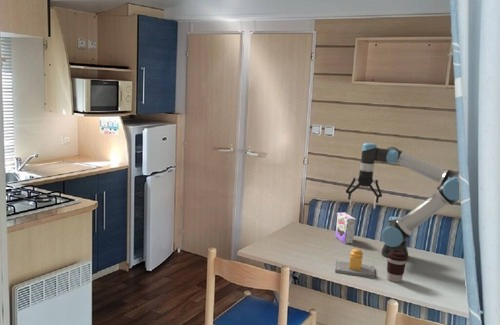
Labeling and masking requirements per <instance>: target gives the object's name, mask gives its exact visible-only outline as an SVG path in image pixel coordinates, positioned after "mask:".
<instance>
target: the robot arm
mask: <svg viewBox="0 0 500 325" xmlns="http://www.w3.org/2000/svg"><path fill="white" fill-rule="evenodd" d="M375 162H380V163H385V164H397V165H399V166H402V167H404V168H406V169H408V170H411V171H412V172H416V173H417V174H418V175H421V176H424V177H426V178H427V179H430V180H433V181H434V182H436V183H439V186H437V187H436V190H435V192H434V193H433V194H432V195H431V196H429V197H428V198H426V199H425V200H424V201H422V202H421V203H420V204H418V206H416V207H414V208H413V209H412V210H411V211H409V212H408V213H407V214H405V215H404V216H402V217H399V216H390V217H389V218H388V221H387V222H388V223H387V225H386V226H385V227H384V228H383V229H382V231H381V234H380V236H381V239H382V241H383V243H384V245H383V247H382V249H381V256H384V257H385V258H387V259H388V257H387V253H388V252H391V251H392V250H400V251H403V252H404V253H405V255H407V256H408V257H409V251H408V245H407V243H408V238H409V237H410V236H412V234H413V233H412V232H413V231H414V230H415V229H417V228H418V227H419V226H421V225H422V224H423V223H424V222H426V221H427V220H429V219H431V217H433V216H434V215H435V214H438V212H440V211H441V210H442V209H444V208H445V207H447V206H453V205H454V204H456V203H457V202H458V201H460V200H459V182H458V174H459V173H457V172H455V171H452V170H450V169H443V168H441V167H439V166H437V165H434V164H432V163H430V162H427V161H425V160H422V159H421V158H418V157H416V156H413V155H411V154H410V153H407V152H405V151H402V150H400V149H399V148H397V147H396V146H389V147H387V148H381V147H377V143H373V142H364V143H363V144H362V148H361V158H360V165H359V173H358V174H359V175H358V177H355V176H354V177H353V178H352V181H351V182H350V183H349V186H348V187H347V188H346V190H345V193H346V194H348V196H347V200H349V207H351V206H352V199H353V198H352V196H353V193H354V192H355V191H356V190H357V189H359V187H365V188H368V187H369V189H371V191H372V192H373V194H374V195H375V196H374V201H373V210H374V209H375V210H376V206H377V204H378V203H379V200H380V199H379V198H382V197H383V194H382V191H381V188H380V185H379V180H378V179H373V178H374V169H375ZM356 182H358V183H357V184H356V185H355V186H354V184H355V183H356ZM372 183H373V184H374V185H375V186H376V189H377V191H376V189H375V187H373V185H372ZM353 186H354V187H353ZM350 189H351V190H350Z"/></svg>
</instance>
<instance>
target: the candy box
mask: <svg viewBox="0 0 500 325" xmlns="http://www.w3.org/2000/svg"><path fill="white" fill-rule="evenodd" d="M336 214H337V216H336V224H335V232H334V237H335V238H336V239H337V240H339V241H340V242H341V243H343V244H344V245H353V242H354V234H355V227H356V218H355V217H353V216H351V214H348V213H346V212H337V213H336Z"/></svg>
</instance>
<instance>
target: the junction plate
mask: <svg viewBox="0 0 500 325" xmlns="http://www.w3.org/2000/svg"><path fill="white" fill-rule="evenodd" d="M349 263H350V261H344V260H343V261H342V260H336V261H335V268H334V270H335V272H334V273H338V274H345V275H351V276H356V275H358V276H357V277H365V278H369V277H370V278H369V279H375V276H376V274H375V266H374V265H371V264H370V265H369V264H363V263H362V265H361V271H360V270H353V269H349Z"/></svg>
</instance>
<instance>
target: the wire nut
mask: <svg viewBox="0 0 500 325" xmlns="http://www.w3.org/2000/svg"><path fill="white" fill-rule="evenodd" d="M349 253H350V256H349V262H350V263H349V269H353V270H360V271H361V265H362V264H363V256H364V253H363V252H362V250H361V249H359V248H352V250H350V252H349Z"/></svg>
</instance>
